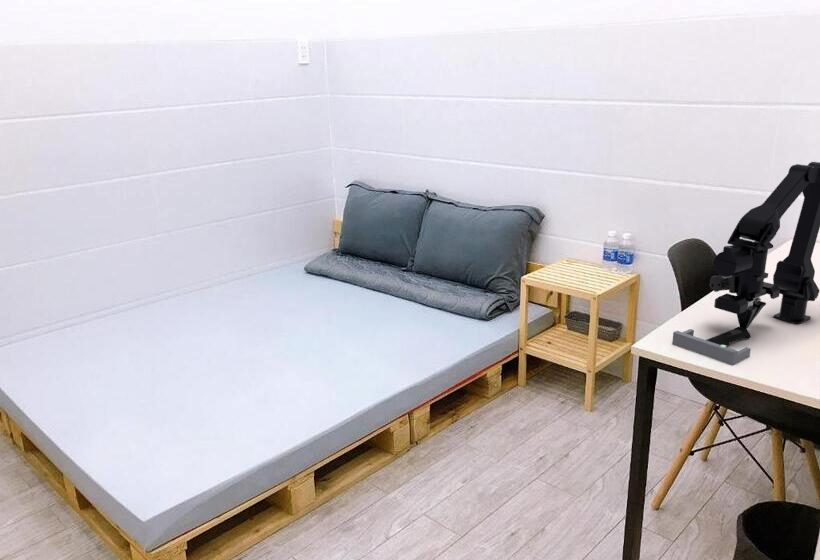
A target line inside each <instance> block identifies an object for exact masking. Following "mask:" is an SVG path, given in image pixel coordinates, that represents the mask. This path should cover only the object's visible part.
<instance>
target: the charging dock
mask: <svg viewBox="0 0 820 560" xmlns="http://www.w3.org/2000/svg"><path fill="white" fill-rule="evenodd" d="M694 333H695V330H694V329H693V328H692V329H691V328H689V329H686V330H684V331H679V330H675V331H673V332H672V342H671V344H672V345H674V346H677V347H680V348H683V349H685V350H688V351H691V352H694V353H696V354H697V353H698V354H699V355H702V356H706V357H708V358H711V359H714V360H717V361H720V362H722V363H726V364H728V365H731V366H734V365H735V364H736V365H737V364H738V363H740V362H742V361H744V360H745V359H748V358H750V356H751V350H752V348H751V347H747V346H746V347H744V348H742V349H739V350H737V349H733V348H731V347H729V346H726V345H719V344H716V343H713V342H710V341H707V339H703V338H701V337H698V336H697V337H696V336H694V335H695V334H694Z"/></svg>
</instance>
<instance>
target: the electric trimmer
mask: <svg viewBox="0 0 820 560" xmlns="http://www.w3.org/2000/svg"><path fill="white" fill-rule="evenodd" d="M750 338H751V333H750V332H749V330H748V328H747V329H746V328H743V327H740V326H736V327H734V328H733V329H730V330H728V331H725V332H722V333H720V334H718V335H715V336H712V337H710V338H708V339H706V340H707V341H710V342H713V343H716V344H719V345H726V347H729V346H730V344H732V343H735V342H738V341H742V340H744V339H745V340H750Z"/></svg>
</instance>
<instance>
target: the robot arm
mask: <svg viewBox="0 0 820 560" xmlns="http://www.w3.org/2000/svg"><path fill="white" fill-rule="evenodd" d="M801 194H802V195H803V201H802V205H801V209H800V211H799V216H798V219H797V223H796V227H795V231H794V235H793V238H792V242H791V245H790V249H789V252H788V255H787V256H786V257H785V258H784V259H783V260H778V262H777V263H776V268H775V271H774V273H773V276H772V277H773V278H772V281H773V282H772V283H770V282H768V281H767V282H766V281H764V280H765V279H768V277H769V273H768V272H766V266H767V261H768V251H769V250H770V249H773V248H774V245H773V244H772V242H771V241H772V240H773V239H774V238H775V237H776V235H777V234H778V232H779V230H780V228H781V218H782V217H783V216H784V214H785V213H786V212H787V211H788V209H790V206H792V205H793V203H794V202H796V200H797V199H798V198H799V196H800V195H801ZM819 232H820V162H818V161H811V162H809V163H808V164H806V165H805V164H798V163H797V164H793V165H791V166H790V168H789V170H788V173H787V174H786V176H785V177H784V178H783V179H782V180H781V181H780V182H779V184H778V185H777V186H776V187H775V189H774V190H773V191H772V192H771V193H770V194H769V196H768V197H767V198H766V199H765V201H764V202H763V203H761V204H760V205H759V206H756V207H753V208H751V209H749V211H747V212H746V213H745V214H744V215H742V216H741V218H740V220H739V221H738V223H737V224H736V226H735V227H734V230H733V231H732V233H731V234H730V237H729V238H728V240H727V245H725V246H723V251H721V252H719V253H717V255H716V256H715V258H714V259H713V266H714V269H715V271H716V273H717V274H718V275H713V276H711V277H710V280H709V284H708V286H709V287H710V288H711V289H712V290H713V292H714V293H717V292H719V291H728V292H729V293H725V294H722V295H720V296H718V297H716V298H715V299H714V308H715V309H718V310H722V311H725V312H729V313H732V314H735V315H736V316H737V317H736V318H737V320H738V325H739V327H743V328H746V329H747V330H748V328H749V327H750V325H751V324H752V323H753V321H754V320H755V319H756V318H757V316H758V314H759V313H760V312H761V310H763V308H765V306H766V305H767V302H765V301H761V300H762V298H760V297H763V296H765V295H769V298H770V299H772V300H774V299H777V298H779V297H780V295H782V296H781V303H780V308H779V312H777V313H776V314H774V315H773V316H772V318H774V319H777V320H782V321H785V322H789V323H793V324H796V325H799V324H803V323H804V321H805V322H806V321H809V320H810V318H811V316H810V315H807V307H808V303H809V302H815V301H816V299H818V297H819V293H820V288H819V287H818V285H817V284H816V282H815V280H814V279H815V272H816V271H815V266H814V265H813V264H814V263H813V261H812V256H813V252H814V249H815V245H816V242H817V239H818V235H819ZM734 294H736V295H734Z"/></svg>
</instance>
